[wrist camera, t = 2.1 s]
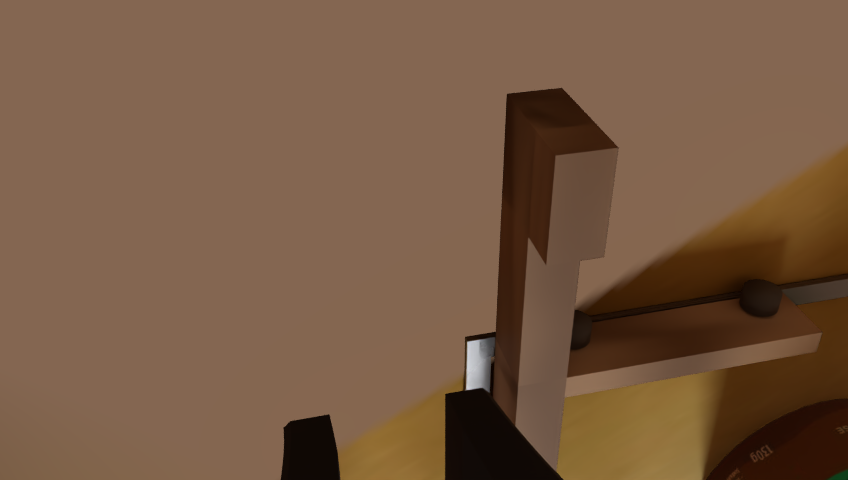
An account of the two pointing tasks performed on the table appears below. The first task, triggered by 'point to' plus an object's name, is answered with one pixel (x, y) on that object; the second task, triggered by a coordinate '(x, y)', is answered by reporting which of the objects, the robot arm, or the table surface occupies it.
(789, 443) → the food container
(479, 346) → the track
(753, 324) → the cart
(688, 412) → the table surface
